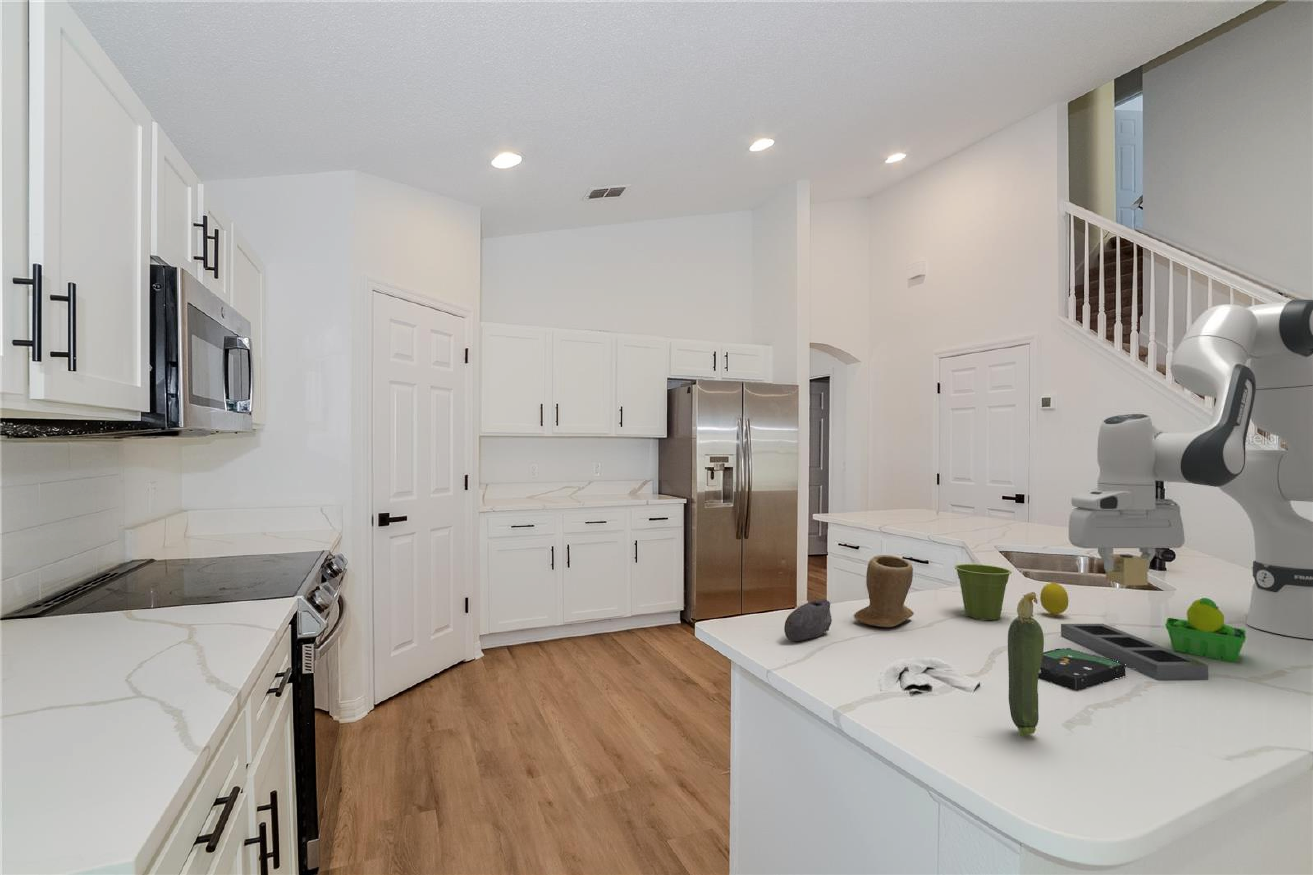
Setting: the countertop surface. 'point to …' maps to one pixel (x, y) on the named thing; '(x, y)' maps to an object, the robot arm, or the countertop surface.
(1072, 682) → the disk drive
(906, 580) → the stone cup
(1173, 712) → the countertop surface
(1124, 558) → the nut
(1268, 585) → the robot arm
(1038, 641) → the vegetable
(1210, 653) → the fruit basket
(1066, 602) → the lemon
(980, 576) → the plant pot
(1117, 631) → the rail
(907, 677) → the cloth
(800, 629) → the perforated stone tool
